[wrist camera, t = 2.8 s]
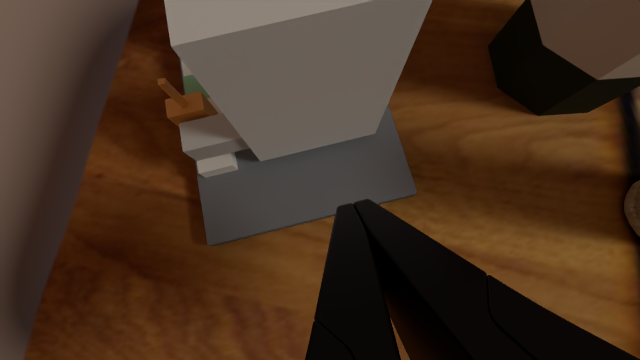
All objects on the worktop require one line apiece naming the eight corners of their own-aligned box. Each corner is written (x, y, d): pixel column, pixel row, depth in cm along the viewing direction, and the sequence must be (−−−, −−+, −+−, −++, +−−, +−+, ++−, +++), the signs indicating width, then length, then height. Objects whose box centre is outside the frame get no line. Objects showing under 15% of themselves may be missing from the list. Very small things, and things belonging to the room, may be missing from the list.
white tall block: (375, 133, 17) (438, -15, 7) (210, 173, 17) (51, 73, 7) (365, 104, 18) (414, -72, 8) (205, 142, 17) (48, 7, 8)
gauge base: (412, 196, 18) (579, 99, 6) (214, 245, 17) (-18, 244, 6) (341, -21, 22) (360, -337, 10) (177, 16, 21) (-6, -269, 9)
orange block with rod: (221, 128, 16) (183, 86, 12) (190, 136, 16) (141, 96, 12) (218, 113, 16) (180, 66, 12) (187, 120, 16) (138, 76, 12)
